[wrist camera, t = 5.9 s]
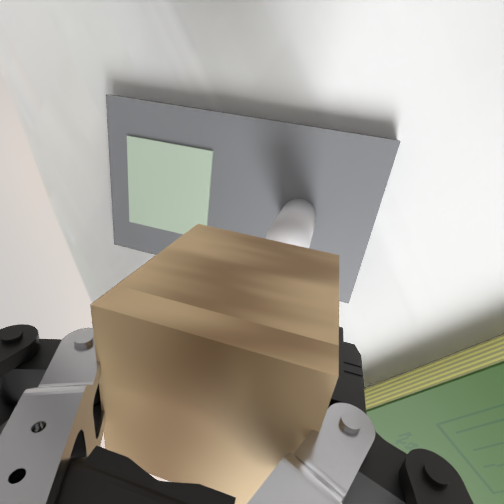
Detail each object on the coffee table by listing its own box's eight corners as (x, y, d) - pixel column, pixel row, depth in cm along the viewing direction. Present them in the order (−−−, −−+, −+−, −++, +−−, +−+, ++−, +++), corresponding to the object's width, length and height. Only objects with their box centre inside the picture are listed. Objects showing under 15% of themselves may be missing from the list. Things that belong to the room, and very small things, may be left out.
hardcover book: (413, 504, 39) (420, 540, 35) (321, 400, 36) (319, 428, 33) (679, 452, 28) (726, 497, 25) (576, 297, 25) (612, 325, 22)
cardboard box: (339, 255, 12) (338, 376, 7) (307, 367, 15) (287, 526, 9) (197, 223, 13) (90, 304, 8) (191, 333, 16) (106, 457, 10)
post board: (348, 294, 30) (350, 346, 23) (123, 239, 34) (69, 268, 27) (397, 139, 24) (418, 148, 17) (117, 95, 28) (46, 88, 21)
